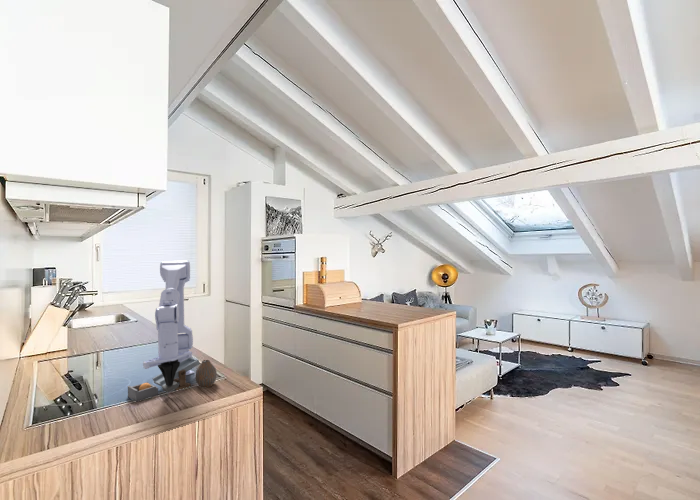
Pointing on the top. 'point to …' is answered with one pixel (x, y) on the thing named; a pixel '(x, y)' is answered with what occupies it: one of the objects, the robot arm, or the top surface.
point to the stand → (182, 380)
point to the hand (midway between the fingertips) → (169, 384)
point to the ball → (144, 386)
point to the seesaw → (185, 364)
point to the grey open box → (142, 392)
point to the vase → (206, 374)
